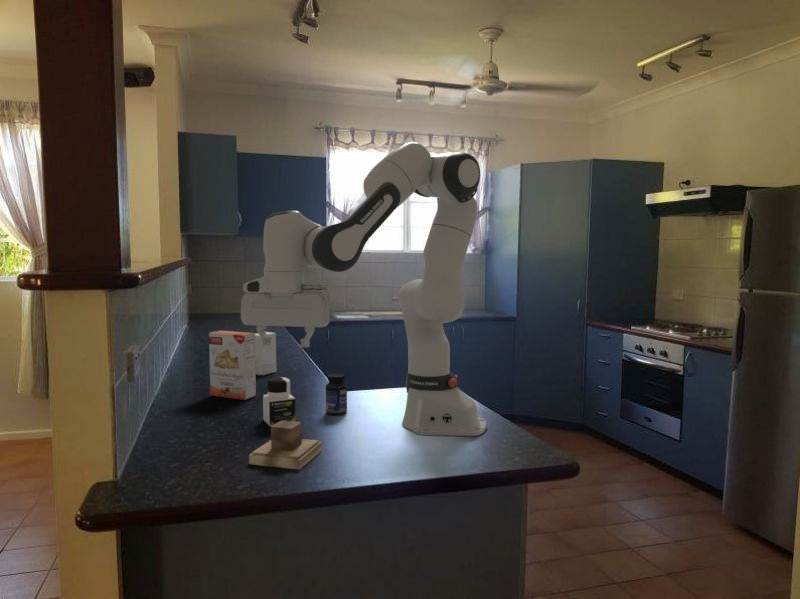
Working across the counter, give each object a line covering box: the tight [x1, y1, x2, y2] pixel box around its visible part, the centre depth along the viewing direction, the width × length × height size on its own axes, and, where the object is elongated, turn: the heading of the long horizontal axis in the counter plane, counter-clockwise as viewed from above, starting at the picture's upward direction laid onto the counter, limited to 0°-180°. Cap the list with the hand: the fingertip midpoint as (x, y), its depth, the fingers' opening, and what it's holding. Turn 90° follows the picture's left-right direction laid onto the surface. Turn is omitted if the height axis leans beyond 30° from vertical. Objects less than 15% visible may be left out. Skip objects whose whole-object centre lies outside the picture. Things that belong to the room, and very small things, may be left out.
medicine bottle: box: [262, 376, 296, 428], centre depth 150 cm, size 7×7×12 cm
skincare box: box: [254, 331, 277, 376], centre depth 213 cm, size 8×7×16 cm
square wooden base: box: [248, 438, 323, 470], centre depth 124 cm, size 12×12×2 cm
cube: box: [270, 420, 303, 451], centre depth 124 cm, size 5×5×5 cm
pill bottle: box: [325, 373, 348, 416], centre depth 159 cm, size 6×6×11 cm
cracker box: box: [208, 330, 257, 401], centre depth 177 cm, size 14×6×21 cm, turn 68°
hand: (285, 346), depth 123 cm, fingers open, 8 cm apart
